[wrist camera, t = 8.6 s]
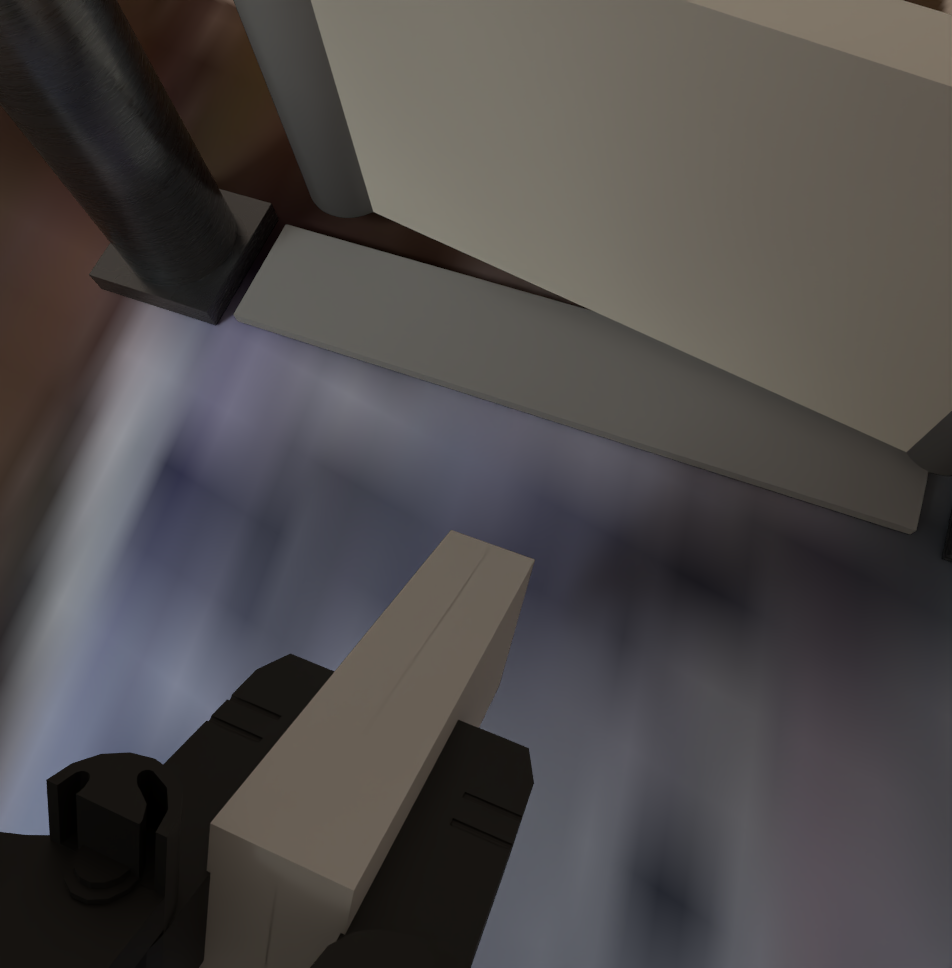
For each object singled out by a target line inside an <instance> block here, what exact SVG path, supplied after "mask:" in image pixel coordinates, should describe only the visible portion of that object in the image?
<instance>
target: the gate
mask: <svg viewBox="0 0 952 968" xmlns="http://www.w3.org/2000/svg"><path fill="white" fill-rule="evenodd" d="M234 3H235V5H236V8H237V11H238V13H239V16H240V18H241V21H242V23H243V26H244V28H245V31H246V33H247V36H248V38H249V41H250V44H251V46H252V49H253V51H254V54H255V56H256V59H257V61H258V64H259V66H260V69H261V71H262V74H263V76H264V79H265V82H266V84H267V87H268V89H269V92H270V94H271V97H272V99H273V102H274V104H275V107H276V109H277V112H278V115H279V117H280V120H281V122H282V125H283V127H284V130H285V132H286V135H287V137H288V140H289V142H290V145H291V148H292V150H293V153H294V155H295V158H296V160H297V163H298V165H299V168H300V170H301V173H302V175H303V178H304V180H305V183H306V186H307V188H308V191H309V193H310V196H311V198H312V200H313V202H314V203H315V204H316V205H317V206H318V208H320V209H321V210H322V211H324V212H326V213H328V214H330V215H333V216H337V217H343V218H353V217H360V216H364V215H367V214H370V213H372V212H375V213H377V214H379V215H381V216H384V217H386V218H388V219H390V220H392V221H395V222H397V223H399V224H401V225H403V226H406V227H408V228H410V229H412V230H415V231H417V232H419V233H421V234H423V235H426V236H428V237H430V238H432V239H435V240H437V241H439V242H441V243H443V244H446V245H448V246H450V247H452V248H454V249H457V250H459V251H461V252H463V253H466V254H468V255H470V256H472V257H474V258H477V259H479V260H481V261H483V262H485V263H488V264H490V265H492V266H494V267H497V268H499V269H501V270H503V271H505V272H508V273H510V274H512V275H514V276H517V277H519V278H521V279H523V280H525V281H528V282H530V283H532V284H534V285H536V286H539V287H541V288H543V289H545V290H548V291H550V292H552V293H554V294H556V295H559V296H561V297H563V298H565V299H568V300H570V301H572V302H574V303H576V304H579V305H581V306H583V307H585V308H587V309H590V310H592V311H594V312H596V313H599V314H601V315H603V316H605V317H607V318H610V319H612V320H614V321H616V322H619V323H621V324H623V325H625V326H627V327H630V328H632V329H634V330H636V331H638V332H641V333H643V334H645V335H647V336H650V337H652V338H654V339H656V340H658V341H661V342H663V343H665V344H667V345H670V346H672V347H674V348H676V349H678V350H681V351H683V352H685V353H687V354H689V355H692V356H694V357H696V358H698V359H701V360H703V361H705V362H707V363H709V364H712V365H714V366H716V367H718V368H721V369H723V370H725V371H727V372H729V373H732V374H734V375H736V376H738V377H740V378H743V379H745V380H747V381H749V382H752V383H754V384H756V385H758V386H760V387H763V388H765V389H767V390H769V391H772V392H774V393H776V394H778V395H780V396H783V397H785V398H787V399H789V400H791V401H794V402H796V403H798V404H800V405H803V406H805V407H807V408H809V409H811V410H814V411H816V412H818V413H820V414H823V415H825V416H827V417H829V418H831V419H834V420H836V421H838V422H840V423H842V424H845V425H847V426H849V427H851V428H854V429H856V430H858V431H860V432H862V433H865V434H867V435H869V436H871V437H874V438H876V439H878V440H880V441H882V442H885V443H887V444H889V445H891V446H893V447H896V448H898V449H900V450H902V451H905V452H906V453H907V454H908V456H909V457H910V458H911V459H912V460H913V461H914V462H915V463H916V464H917V465H918V466H920V467H921V468H923V469H925V470H927V471H929V472H931V473H934V474H938V475H943V476H952V15H950V14H947V13H944V12H940V11H937V10H934V9H930V8H927V7H924V6H920V5H917V4H914V3H910V2H907V1H904V0H234Z"/></svg>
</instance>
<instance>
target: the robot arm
mask: <svg viewBox="0 0 952 968" xmlns="http://www.w3.org/2000/svg"><path fill="white" fill-rule="evenodd" d="M534 561H535V560H534V559H532V558H529V557H526V556H523V555H520V554H517V553H515V552H512V551H509V550H506V549H503V548H501V547H498V546H495V545H492V544H489V543H486V542H484V541H481V540H478V539H475V538H472V537H469V536H467V535H464V534H461V533H458V532H455V531H452V530H451V531H450V532H449V533H448V534H447V536H446V537H445V538H444V539H443V540H442V542H441V543H440V544H439V545H438V547H437V548H436V549H435V550H434V551H433V553H432V554H431V555H430V556H429V557H428V559H427V560H426V561H425V562H424V564H423V565H422V566H421V567H420V568H419V570H418V571H417V572H416V573H415V575H414V576H413V577H412V578H411V579H410V581H409V582H408V583H407V584H406V585H405V587H404V588H403V589H402V590H401V592H400V593H399V594H398V595H397V596H396V598H395V599H394V600H393V601H392V603H391V604H390V605H389V606H388V607H387V609H386V610H385V611H384V612H383V613H382V615H381V616H380V617H379V618H378V620H377V621H376V622H375V623H374V624H373V626H372V627H371V628H370V629H369V631H368V632H367V633H366V634H365V635H364V637H363V638H362V639H361V640H360V641H359V643H358V644H357V645H356V646H355V648H354V649H353V650H352V651H351V652H350V654H349V655H348V656H347V657H346V658H345V660H344V661H343V662H342V663H341V665H340V666H339V667H338V668H337V669H336V671H335V672H334V671H332V670H329V669H327V668H324V667H322V666H319V665H317V664H315V663H312V662H310V661H307V660H305V659H302V658H300V657H297V656H295V655H292V654H289V655H286V656H284V657H282V658H280V659H278V660H276V661H274V662H272V663H270V664H267V665H265V666H263V667H261V668H259V669H257V670H256V671H255V672H254V673H253V674H252V675H251V676H250V677H249V678H248V679H247V680H246V681H245V682H244V683H243V684H242V685H241V686H240V687H239V688H238V689H237V690H236V691H235V692H234V693H233V694H232V697H231V699H230V700H226V701H225V702H224V703H223V704H222V705H221V706H220V707H219V708H218V709H217V710H216V711H215V713H214V714H213V715H212V716H211V719H210V720H209V721H206V722H205V723H204V724H203V725H202V726H201V727H200V728H199V729H198V730H197V731H196V732H195V733H194V734H193V735H192V736H191V737H190V738H189V739H188V740H187V741H186V742H185V743H184V744H183V745H182V746H181V747H180V748H179V749H178V750H177V751H176V752H175V753H174V754H173V755H172V756H171V757H170V758H169V759H168V760H167V761H166V763H165V764H164V765H163V764H161V763H160V762H159V761H157V760H156V759H153V758H149V757H145V756H141V755H138V754H134V753H111V754H100V755H97V756H93V757H90V758H87V759H84V760H81V761H78V762H75V763H72V764H70V765H69V766H67V767H66V768H64V769H63V770H61V771H60V772H58V773H57V774H55V775H53V776H52V777H50V778H49V779H47V796H48V812H49V828H50V835H21V834H13V833H4V832H0V968H199V967H200V968H471V965H472V962H473V959H474V957H475V954H476V951H477V948H478V945H479V942H480V939H481V936H482V934H483V931H484V928H485V925H486V922H487V919H488V916H489V914H490V911H491V908H492V905H493V902H494V899H495V896H496V893H497V891H498V888H499V885H500V882H501V879H502V876H503V873H504V870H505V868H506V865H507V862H508V859H509V856H510V853H511V850H512V847H513V844H514V841H515V838H516V835H517V832H518V829H519V826H520V823H521V820H522V817H523V814H524V811H525V808H526V805H527V802H528V799H529V796H530V793H531V790H532V787H533V784H534V780H533V774H532V767H531V761H530V754H529V748H527V747H524V746H522V745H519V744H517V743H514V742H512V741H510V740H507V739H505V738H502V737H500V736H497V735H495V734H492V733H490V732H487V731H485V730H483V729H480V728H479V727H480V725H481V722H482V720H483V718H484V716H485V714H486V712H487V710H488V708H489V706H490V704H491V702H492V700H493V698H494V696H495V693H496V691H497V689H498V687H499V685H500V681H501V678H502V674H503V671H504V667H505V663H506V660H507V656H508V653H509V649H510V646H511V642H512V639H513V635H514V632H515V628H516V625H517V621H518V617H519V614H520V610H521V607H522V603H523V600H524V596H525V593H526V589H527V586H528V582H529V578H530V575H531V571H532V568H533V564H534Z"/></svg>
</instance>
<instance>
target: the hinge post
mask: <svg viewBox="0 0 952 968" xmlns="http://www.w3.org/2000/svg"><path fill="white" fill-rule="evenodd" d="M942 559H945V560H948V561H951V562H952V511H951V516H950V521H949V526H948V531H947V536H946V541H945V546H944V551H943V556H942Z"/></svg>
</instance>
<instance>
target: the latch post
mask: <svg viewBox="0 0 952 968" xmlns="http://www.w3.org/2000/svg"><path fill="white" fill-rule="evenodd" d="M0 105H1V106H2V107H3V108H4V110H5V111H6V112H7V114H8V115H9V116H10V117H11V119H12V120H13V121H14V122H15V124H16V125H17V126H18V127H19V129H20V130H21V131H22V132H23V134H24V135H25V136H26V137H27V139H28V140H29V141H30V142H31V144H32V145H33V146H34V147H35V149H36V150H37V151H38V152H39V154H40V155H41V156H42V157H43V159H44V160H45V161H46V162H47V164H48V165H49V166H50V167H51V169H52V170H53V171H54V172H55V174H56V175H57V176H58V177H59V179H60V180H61V181H62V183H63V184H64V185H65V186H66V188H67V189H68V190H69V191H70V193H71V194H72V195H73V196H74V198H75V199H76V200H77V201H78V203H79V204H80V205H81V206H82V208H83V209H84V210H85V211H86V213H87V214H88V215H89V216H90V218H91V219H92V220H93V221H94V223H95V224H96V225H97V226H98V228H99V229H100V230H101V231H102V233H103V234H104V235H105V236H106V238H107V239H108V240H109V241H110V244H109V246H108V247H107V249H106V250H105V252H104V253H103V255H102V256H101V258H100V259H99V261H98V262H97V264H96V265H95V267H94V268H93V270H92V271H91V273H90V274H89V275H90V276H91V277H92V279H93V280H94V281H95V282H96V283H97V284H98V285H99V286H100V288H101V289H104V290H107V291H111V292H114V293H117V294H120V295H123V296H126V297H129V298H132V299H135V300H139V301H142V302H145V303H148V304H151V305H154V306H157V307H160V308H163V309H167V310H170V311H173V312H176V313H179V314H182V315H185V316H188V317H192V318H195V319H198V320H201V321H204V322H207V323H210V324H213V325H216V324H217V323H218V321H219V319H220V318H221V316H222V314H223V312H224V311H225V309H226V307H227V306H228V304H229V302H230V301H231V299H232V297H233V295H234V294H235V292H236V290H237V289H238V287H239V285H240V284H241V282H242V280H243V278H244V277H245V275H246V273H247V272H248V270H249V268H250V266H251V265H252V263H253V261H254V260H255V258H256V256H257V255H258V253H259V251H260V249H261V248H262V246H263V244H264V243H265V241H266V239H267V238H268V236H269V234H270V232H271V231H272V229H273V227H274V226H275V224H276V222H277V221H278V217H277V214H276V212H275V210H274V208H273V206H272V204H271V203H268V202H265V201H261V200H257V199H254V198H250V197H247V196H243V195H239V194H236V193H232V192H229V191H225V190H221V189H219V188H218V186H217V184H216V182H215V181H214V179H213V177H212V175H211V173H210V171H209V170H208V168H207V166H206V164H205V162H204V160H203V158H202V157H201V155H200V153H199V151H198V149H197V147H196V146H195V144H194V142H193V140H192V138H191V136H190V135H189V133H188V131H187V129H186V127H185V125H184V124H183V122H182V120H181V118H180V116H179V114H178V112H177V111H176V109H175V107H174V105H173V103H172V101H171V100H170V98H169V96H168V94H167V92H166V90H165V89H164V87H163V85H162V83H161V81H160V79H159V77H158V76H157V74H156V72H155V70H154V68H153V66H152V65H151V63H150V61H149V59H148V57H147V55H146V54H145V52H144V50H143V48H142V46H141V44H140V43H139V41H138V39H137V37H136V35H135V33H134V31H133V30H132V28H131V26H130V24H129V22H128V20H127V19H126V17H125V15H124V13H123V11H122V9H121V8H120V6H119V4H118V2H117V0H0Z"/></svg>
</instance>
